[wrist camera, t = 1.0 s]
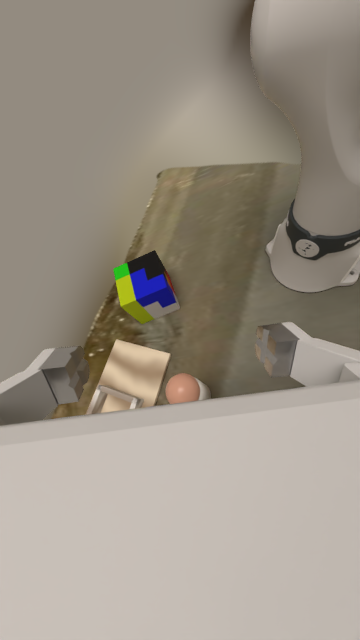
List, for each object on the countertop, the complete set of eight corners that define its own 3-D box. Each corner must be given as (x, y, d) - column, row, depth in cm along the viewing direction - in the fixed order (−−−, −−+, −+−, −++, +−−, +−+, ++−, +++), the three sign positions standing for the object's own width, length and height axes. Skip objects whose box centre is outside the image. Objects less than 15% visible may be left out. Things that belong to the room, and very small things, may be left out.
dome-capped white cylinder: (196, 376, 42) (176, 363, 30) (216, 393, 40) (204, 386, 27) (180, 397, 42) (153, 392, 29) (200, 415, 40) (180, 418, 27)
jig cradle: (118, 340, 50) (109, 335, 47) (171, 354, 46) (165, 350, 42) (78, 439, 44) (64, 442, 40) (135, 468, 39) (124, 474, 36)
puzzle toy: (180, 308, 49) (167, 286, 40) (142, 324, 51) (120, 306, 42) (169, 276, 54) (154, 250, 45) (134, 291, 55) (113, 268, 46)
